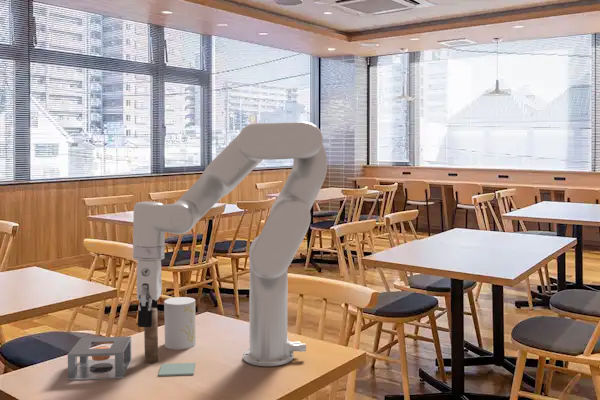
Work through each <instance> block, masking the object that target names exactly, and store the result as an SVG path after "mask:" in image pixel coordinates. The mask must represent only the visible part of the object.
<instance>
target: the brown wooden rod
mask: <svg viewBox="0 0 600 400" xmlns="http://www.w3.org/2000/svg"><path fill="white" fill-rule="evenodd" d="M151 310H152V326H151V327H143V331H144V333H143V334H144V336H143V337H144V339H143V340H144V342H143V343H144V362H145V363H146V362H147V364H154V362H155V363H158V362H159V337H158V336H159V333H158V332H159V329H158V324H159V323H158V307H157V308H151Z"/></svg>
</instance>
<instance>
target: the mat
mask: <svg viewBox="0 0 600 400" xmlns="http://www.w3.org/2000/svg"><path fill="white" fill-rule="evenodd" d="M195 368H196V362H181V363H180V362H179V363H178V362H176V363H175V362H174V363H173V362H172V363H170V362H169V363H162V364H161V366H160V369H159V372H158V377H172V376H175V377H177V375H178V376H194V374H195Z"/></svg>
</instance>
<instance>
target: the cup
mask: <svg viewBox="0 0 600 400" xmlns="http://www.w3.org/2000/svg"><path fill="white" fill-rule="evenodd" d="M163 304H164V305H163V306H164V307H163V310H164V311H163V312H164V347H165V348H166V349H170V350H175V351H176V350H186V349H187V350H188V349H191V348H193V347H194V345H196V340H197V339H196V338H197V337H196V334H197V333H196V328H197V327H196V299H195V298H194V297H187V296H176V297H168V298H167V299H165V300H164V301H163ZM190 347H191V348H190Z"/></svg>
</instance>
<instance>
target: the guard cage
mask: <svg viewBox="0 0 600 400" xmlns="http://www.w3.org/2000/svg"><path fill="white" fill-rule="evenodd" d="M92 345H110V346H109V348H104V349H93V348H91V347H92ZM92 356H110V357H111V356H112V357H113V356H114V358H109V359H106V360H102V361H95V360H93V359H89V357H92ZM78 358H79V363H78ZM132 360H133V359H132V336H105V337H103V336H99V337H80V339H79V340H78V341H77V342H76V344H75V345H74V346H73V347H72V349H71V350H70V351H69V352H68V353H67V377H68V378H67V379H68V381H82V380H83V381H85V380H111V379H112V380H114V379H116V378H117V379H123V378H124V376H125V374H126V372H127V370H128V368H129V366H130V364H131V362H132Z"/></svg>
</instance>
